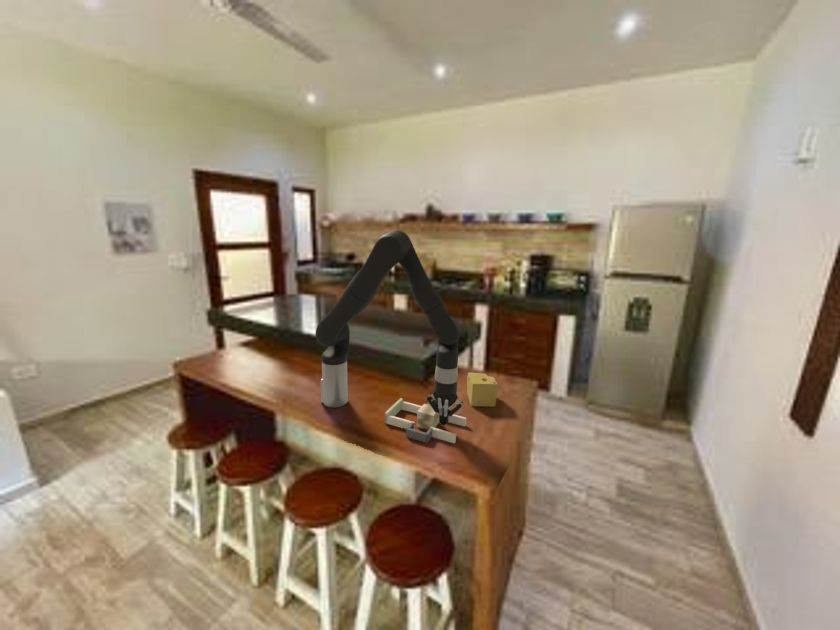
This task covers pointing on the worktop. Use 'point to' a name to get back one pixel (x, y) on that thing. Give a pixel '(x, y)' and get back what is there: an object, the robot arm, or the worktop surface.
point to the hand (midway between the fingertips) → (443, 423)
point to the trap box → (409, 425)
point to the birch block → (427, 417)
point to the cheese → (481, 389)
